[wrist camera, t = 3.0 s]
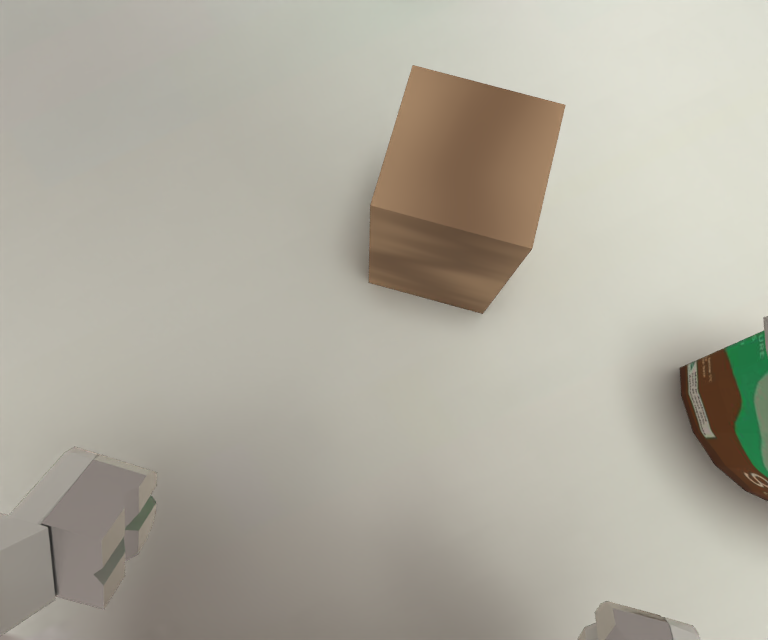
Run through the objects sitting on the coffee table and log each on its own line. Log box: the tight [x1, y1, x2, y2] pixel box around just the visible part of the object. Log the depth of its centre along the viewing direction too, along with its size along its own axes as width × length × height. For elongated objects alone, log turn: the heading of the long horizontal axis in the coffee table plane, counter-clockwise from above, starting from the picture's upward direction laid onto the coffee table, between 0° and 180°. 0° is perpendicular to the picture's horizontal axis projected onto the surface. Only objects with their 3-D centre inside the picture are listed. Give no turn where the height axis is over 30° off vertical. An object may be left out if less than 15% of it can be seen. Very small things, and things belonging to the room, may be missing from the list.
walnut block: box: [369, 65, 565, 314], centre depth 23 cm, size 5×5×8 cm
